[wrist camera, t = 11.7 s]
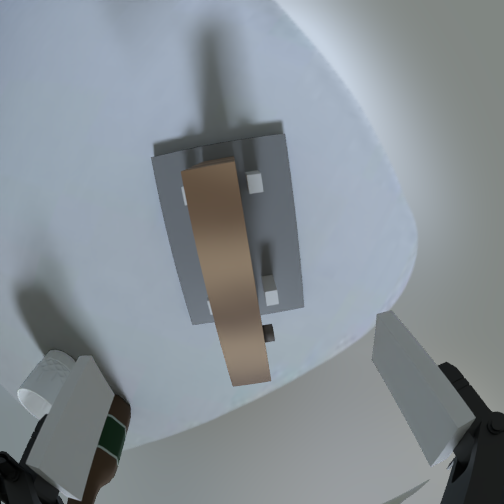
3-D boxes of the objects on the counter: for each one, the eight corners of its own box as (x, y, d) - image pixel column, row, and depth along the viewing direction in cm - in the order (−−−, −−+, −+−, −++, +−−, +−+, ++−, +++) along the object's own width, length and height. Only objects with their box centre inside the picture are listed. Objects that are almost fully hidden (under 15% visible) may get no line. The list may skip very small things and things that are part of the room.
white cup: (80, 353, 35) (53, 400, 26) (89, 388, 38) (69, 433, 28) (39, 340, 34) (9, 381, 25) (50, 375, 37) (27, 415, 27)
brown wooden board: (202, 161, 26) (180, 171, 15) (242, 154, 26) (249, 159, 15) (231, 308, 32) (232, 386, 21) (265, 302, 32) (281, 379, 21)
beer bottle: (140, 406, 39) (111, 536, 17) (123, 423, 41) (96, 536, 18) (98, 382, 37) (49, 509, 15) (86, 402, 39) (44, 513, 16)
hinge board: (154, 157, 27) (140, 159, 23) (282, 134, 27) (291, 131, 23) (193, 319, 34) (189, 343, 29) (301, 302, 34) (311, 324, 29)
